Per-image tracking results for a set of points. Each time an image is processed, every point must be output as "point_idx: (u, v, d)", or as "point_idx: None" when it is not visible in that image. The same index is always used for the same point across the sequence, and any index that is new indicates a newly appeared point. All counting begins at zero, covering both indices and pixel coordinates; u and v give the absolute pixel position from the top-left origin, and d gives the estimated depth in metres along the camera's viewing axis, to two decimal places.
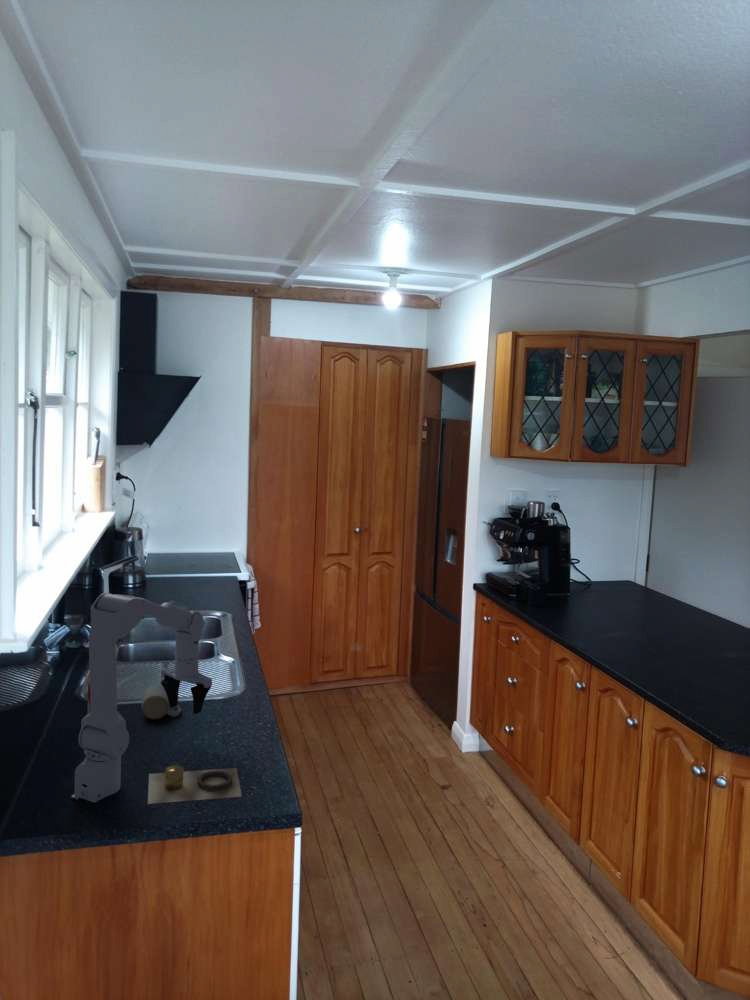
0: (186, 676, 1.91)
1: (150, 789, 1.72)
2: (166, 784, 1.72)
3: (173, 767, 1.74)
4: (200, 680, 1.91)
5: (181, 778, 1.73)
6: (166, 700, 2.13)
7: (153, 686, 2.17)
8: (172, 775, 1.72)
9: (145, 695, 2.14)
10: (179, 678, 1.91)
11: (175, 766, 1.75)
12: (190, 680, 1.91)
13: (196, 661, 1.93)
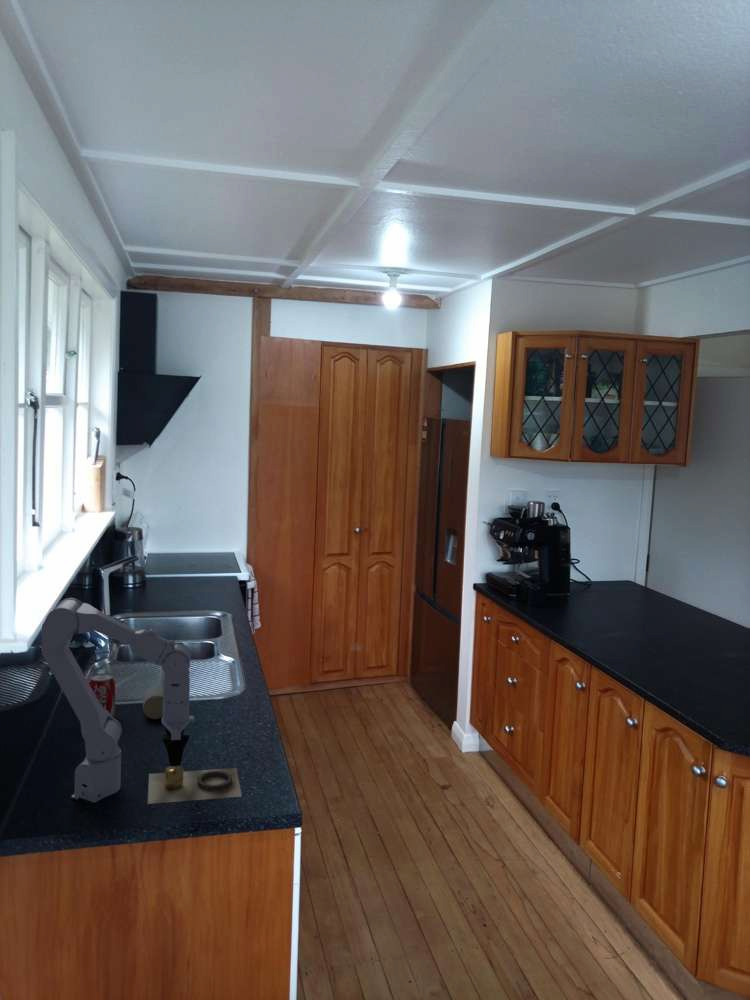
0: (165, 720, 1.70)
1: (150, 789, 1.72)
2: (166, 784, 1.72)
3: (173, 767, 1.74)
4: (170, 729, 1.67)
5: (181, 778, 1.73)
6: None
7: (154, 686, 2.17)
8: (172, 775, 1.72)
9: (146, 695, 2.14)
10: (161, 720, 1.71)
11: (175, 766, 1.75)
12: (165, 726, 1.69)
13: (177, 707, 1.69)
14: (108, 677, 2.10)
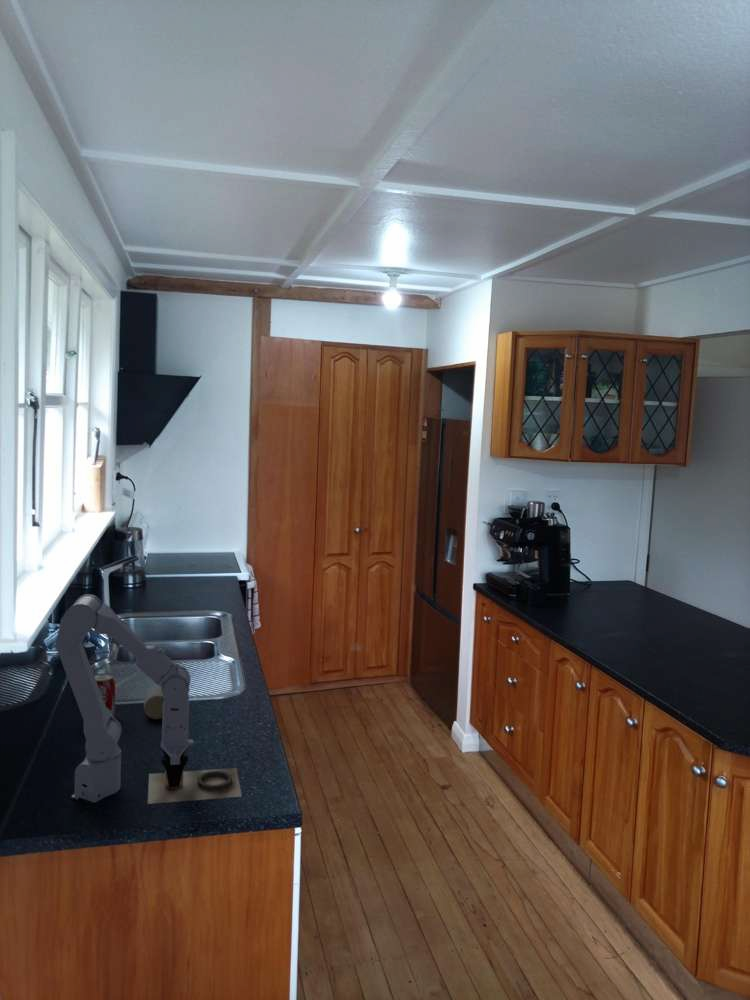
0: (164, 744, 1.70)
1: (150, 789, 1.72)
2: (166, 784, 1.72)
3: None
4: (169, 754, 1.67)
5: (181, 778, 1.73)
6: None
7: (155, 686, 2.17)
8: None
9: (147, 695, 2.14)
10: (161, 744, 1.72)
11: None
12: (165, 750, 1.69)
13: (177, 731, 1.70)
14: (108, 677, 2.10)
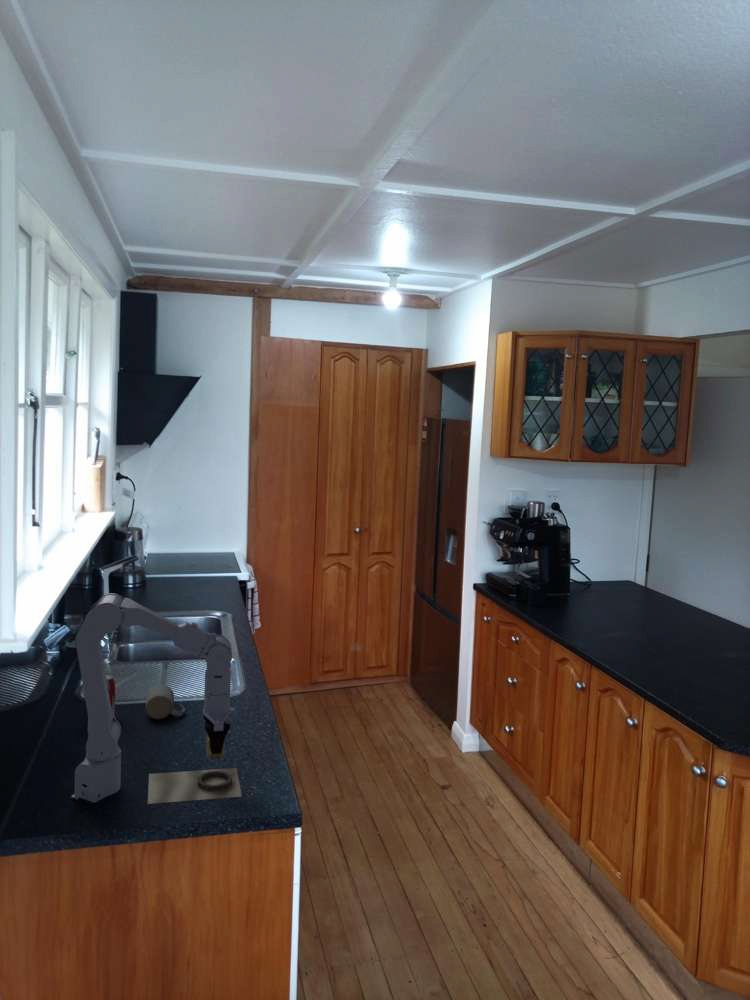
0: (207, 712, 1.72)
1: (150, 789, 1.72)
2: (208, 752, 1.74)
3: None
4: (212, 720, 1.69)
5: (223, 746, 1.75)
6: (170, 700, 2.13)
7: (157, 686, 2.17)
8: None
9: (149, 695, 2.14)
10: (203, 712, 1.73)
11: None
12: (207, 717, 1.71)
13: (219, 698, 1.71)
14: (108, 677, 2.10)
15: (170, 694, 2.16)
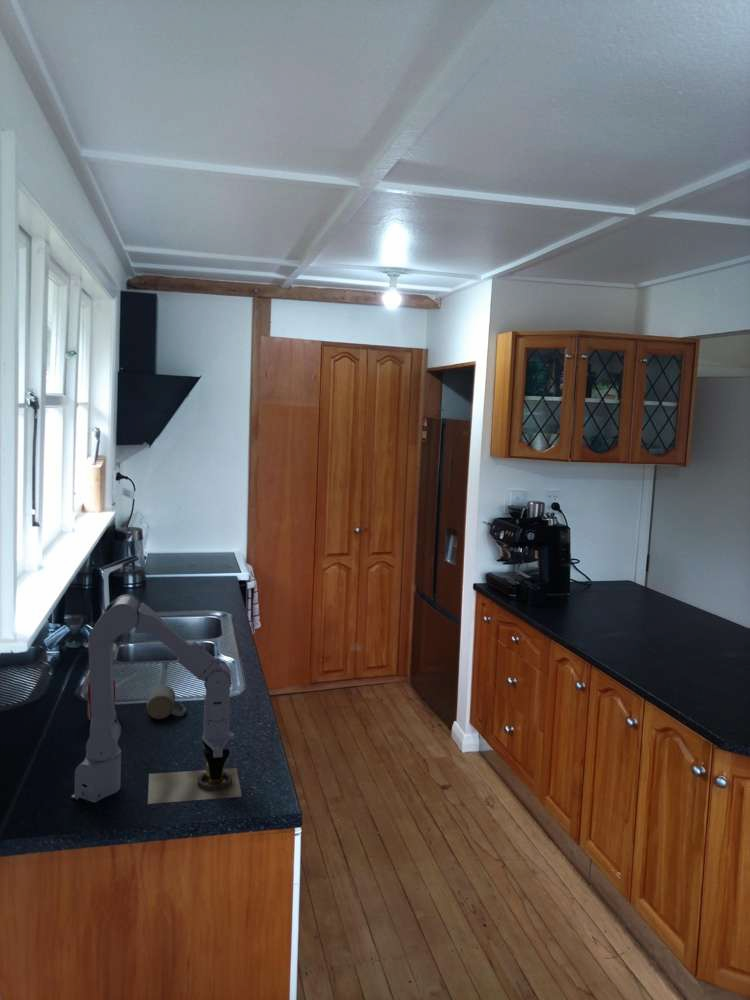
0: (206, 738, 1.73)
1: (150, 789, 1.72)
2: (207, 778, 1.75)
3: None
4: (211, 746, 1.70)
5: (222, 772, 1.75)
6: (171, 700, 2.13)
7: (158, 686, 2.17)
8: None
9: (150, 695, 2.14)
10: (202, 737, 1.74)
11: None
12: (207, 743, 1.72)
13: (218, 724, 1.72)
14: None
15: (171, 694, 2.16)
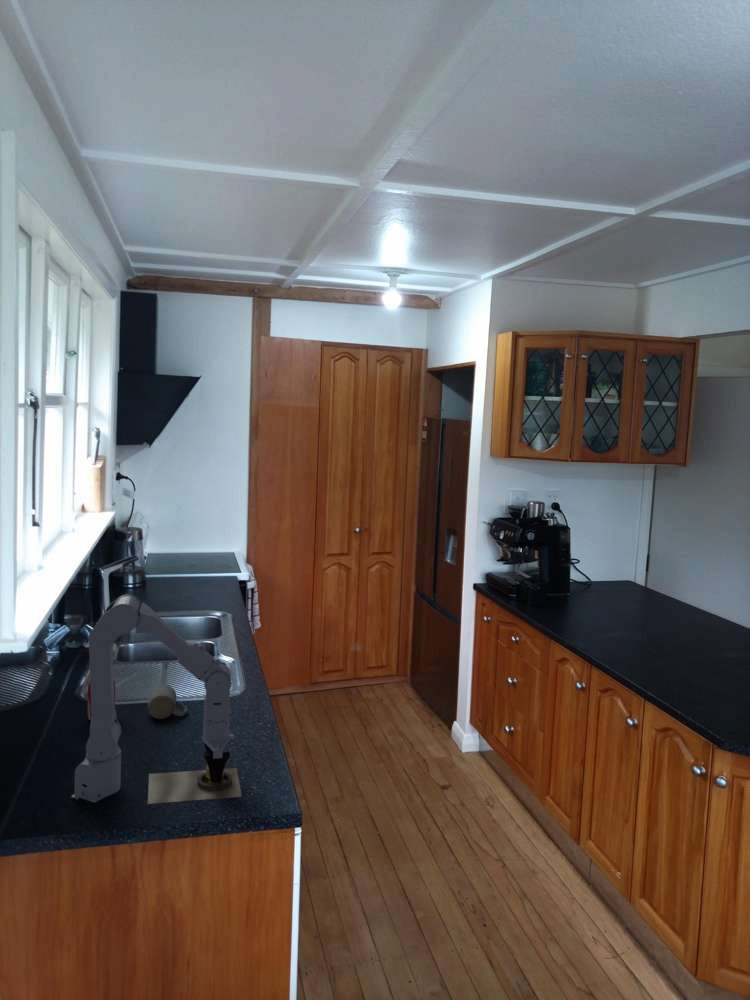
0: (206, 739, 1.73)
1: (150, 789, 1.72)
2: (207, 781, 1.75)
3: None
4: (211, 747, 1.70)
5: (222, 775, 1.75)
6: (172, 700, 2.13)
7: (159, 686, 2.17)
8: None
9: (151, 695, 2.14)
10: (202, 738, 1.74)
11: None
12: (207, 744, 1.72)
13: (218, 725, 1.72)
14: None
15: (172, 694, 2.16)
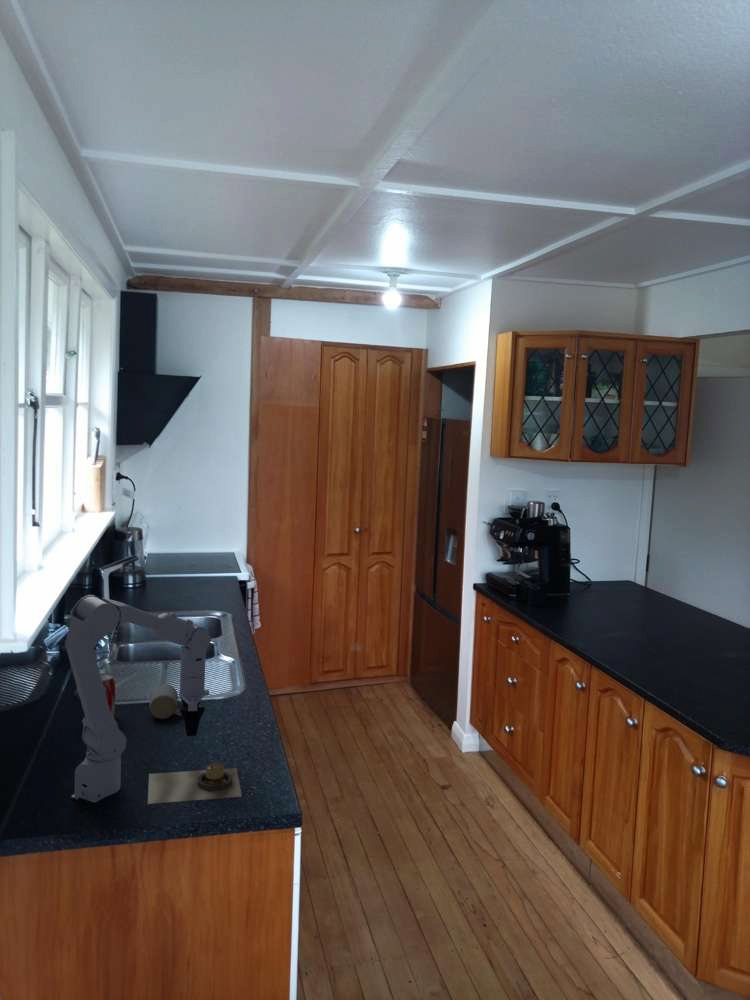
0: (182, 693, 1.82)
1: (150, 789, 1.72)
2: (207, 781, 1.75)
3: (213, 764, 1.77)
4: (187, 701, 1.79)
5: (222, 775, 1.75)
6: (174, 700, 2.13)
7: (161, 686, 2.18)
8: (213, 773, 1.74)
9: (153, 695, 2.14)
10: (179, 693, 1.83)
11: (215, 763, 1.77)
12: (183, 698, 1.81)
13: (194, 680, 1.81)
14: (108, 677, 2.10)
15: (174, 694, 2.16)
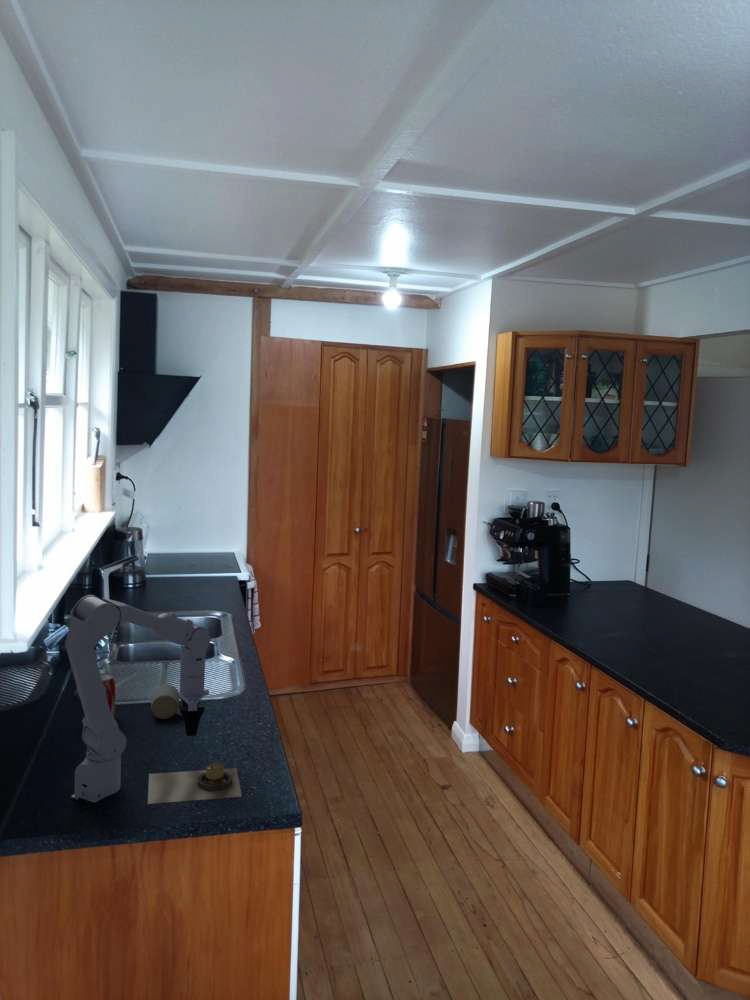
0: (182, 693, 1.82)
1: (150, 789, 1.72)
2: (207, 781, 1.75)
3: (213, 764, 1.77)
4: (187, 701, 1.79)
5: (222, 775, 1.75)
6: (175, 700, 2.14)
7: (162, 686, 2.18)
8: (213, 773, 1.74)
9: (154, 695, 2.15)
10: None
11: (215, 763, 1.77)
12: (182, 698, 1.81)
13: (194, 680, 1.81)
14: (108, 677, 2.10)
15: (175, 694, 2.16)
